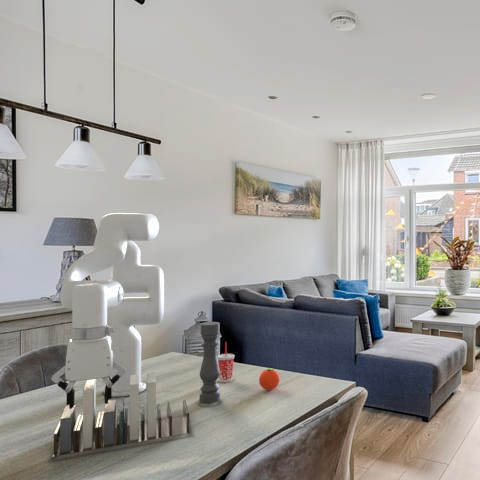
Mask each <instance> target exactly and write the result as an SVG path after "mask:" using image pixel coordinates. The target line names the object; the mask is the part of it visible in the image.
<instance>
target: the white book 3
mask: <svg viewBox="0 0 480 480" xmlns="http://www.w3.org/2000/svg"><path fill="white" fill-rule="evenodd" d="M156 421H157V377H156V372H146V423H147V438H149V437H155V436H156Z"/></svg>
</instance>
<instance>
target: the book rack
mask: <svg viewBox="0 0 480 480" xmlns="http://www.w3.org/2000/svg"><path fill="white" fill-rule="evenodd" d="M145 414H146V413H145V405H141V406H140V423H139V439H137V440H131V441H130V425H129V408H128V407H126V408H125V396H121V403H120V409H119V408H118V409H117V414H116V431H115V440H114V444H108V445H104V411H103V410H102V411H98V413H97V416H96V426H95V438H94V442H93V447H91V448H85V449H83V413H82V414H78V415H77V417H76V424H75V427H74V430H73V446H72V449H71V451H68V452H62V453H60V420H59V422H58V423H57V426H56V427H55V430H54V433H53V454H52V458H54V457H55V458H56V457H60V456H67V455H72V454H78V453H84V452H89V451H90V452H91V451H95V450H100V449H106V448H112V447H118V446H124V445H129V444H136V443H141V442H146V441H147V442H148V441H152V440H159V439H163V438H169V437H174V436H175V437H176V436H182V435H187V434H191V430H190V410H189V408H188V403H187V400H186V399H183V401H182V416H180V417H174V418H173V413H172V409H171V404H170V401H167V402H166V419H162V412H161V405H160V403H156V436H155V437H149V438H147V422H146V415H145Z"/></svg>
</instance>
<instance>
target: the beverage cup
mask: <svg viewBox="0 0 480 480" xmlns="http://www.w3.org/2000/svg"><path fill="white" fill-rule="evenodd" d="M224 343H225V344H224V353H221V354H218V355H216V357H217V361H218V365H219V369H220V376H219V378H218V382H219V383H230V382H232V381H233V377H234V376H233V375H234V363H235V362H234V361H235V360H234V359H235V356H236V355H235V354H233V353H228V352H227V350H228V349H227V341H225V342H224Z"/></svg>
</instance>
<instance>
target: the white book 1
mask: <svg viewBox="0 0 480 480" xmlns="http://www.w3.org/2000/svg"><path fill="white" fill-rule="evenodd" d="M96 408H97V379H93V380H85V385H84V387H83V390H82V414H83V449H85V448H91V447H93V442H94V438H95V426H96V422H97V415H96V412H97V411H96V410H97V409H96Z"/></svg>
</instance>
